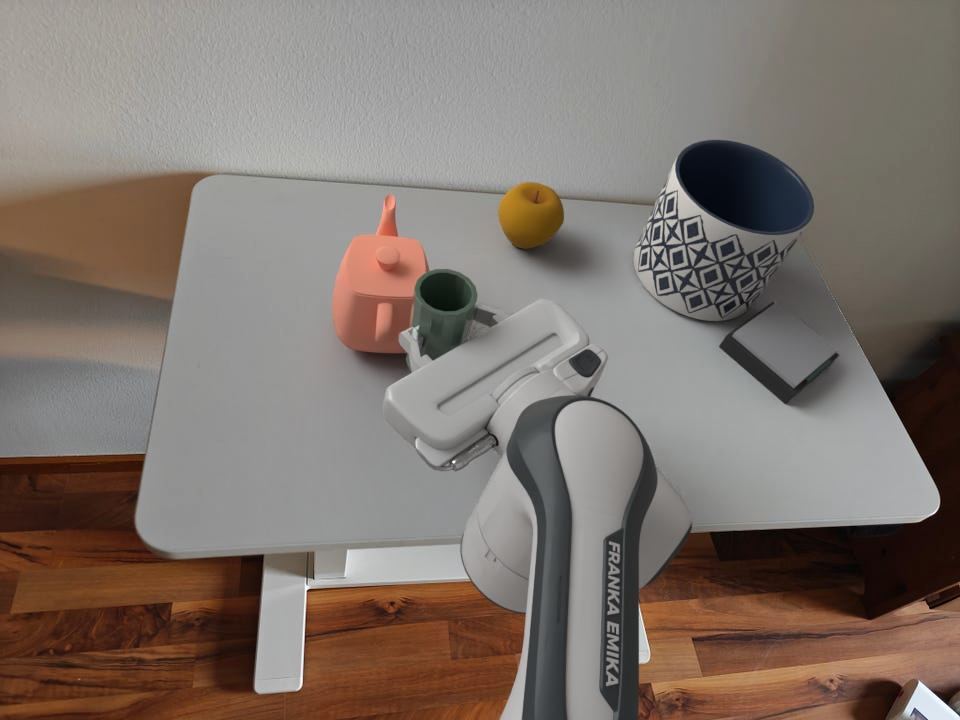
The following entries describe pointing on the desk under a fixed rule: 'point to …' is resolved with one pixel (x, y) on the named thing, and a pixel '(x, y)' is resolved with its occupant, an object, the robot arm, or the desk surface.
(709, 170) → the planter
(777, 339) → the scale
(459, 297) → the cup
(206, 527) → the desk surface
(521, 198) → the apple
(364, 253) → the teapot
